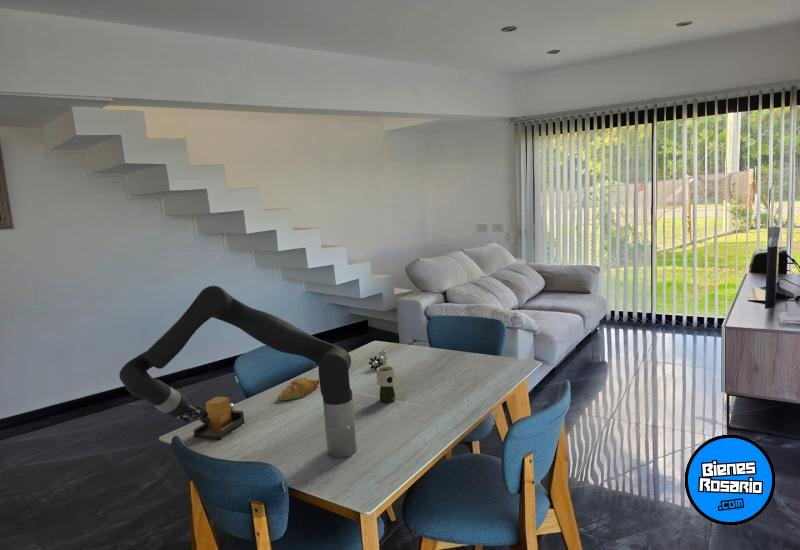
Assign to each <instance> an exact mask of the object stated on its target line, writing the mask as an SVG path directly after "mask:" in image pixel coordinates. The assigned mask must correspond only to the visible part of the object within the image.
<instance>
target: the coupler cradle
mask: <svg viewBox="0 0 800 550" xmlns="http://www.w3.org/2000/svg"><path fill="white" fill-rule="evenodd" d="M230 408H231V417H232V422H231V423H230V424H228V425H227V426H225V427H224V428H222V429H221V430H211V429H209V426H208V425H206V424H204V423H202V424H200V425H199V426H197V427H195V428H194V429H193V436H194V438H200V439H209V440H216V441H221V440H223V437H224V438H225V437H227V436H228V435H230V434H232V433H233V432H234V431H236V430H237V429H239V428H240V427H242V426H243V425H244V424H245V415H244V410H235V408H234V403H233V402H230ZM242 424H243V425H242ZM241 425H242V426H241ZM239 426H240V427H239ZM238 427H239V428H238ZM235 429H236V430H235ZM232 431H233V432H232ZM226 435H227V436H226ZM220 439H221V440H220Z"/></svg>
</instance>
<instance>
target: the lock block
mask: <svg viewBox="0 0 800 550" xmlns="http://www.w3.org/2000/svg"><path fill="white" fill-rule="evenodd" d="M230 403H231V401H230V397H227V396H226V397H225V396H215V397H213V398H211V399H210V400H208V401H206V402H205V408H206V412H207V413H209V414H208V417H209V418H210V422H209V424H208V426H209V429H211V430H221V429H222V428H224V427H225V426H227V425H228V424H230V423H231V422H232V417H231V408H230Z"/></svg>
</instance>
